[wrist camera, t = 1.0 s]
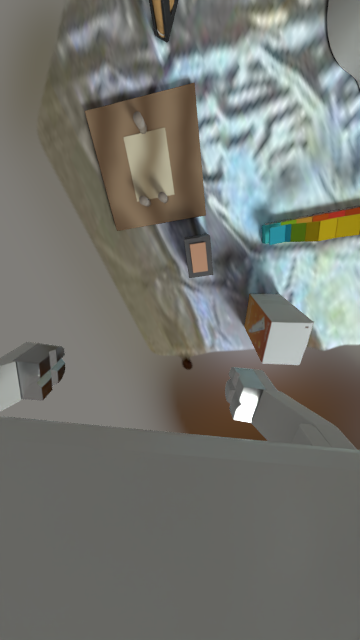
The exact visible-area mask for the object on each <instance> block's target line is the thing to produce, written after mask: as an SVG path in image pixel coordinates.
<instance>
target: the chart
mask: <svg viewBox="0 0 360 640" xmlns="http://www.w3.org/2000/svg"><path fill="white" fill-rule="evenodd" d="M359 234H360V207H357V206H354V207H349V208H344V209H342V210H340V209H338V210H333V211H328V213H324V212H323V213H318V214H313V215H312V216H309V217H308V215H307V216H302V217H297V218H296V219H293V220H291V219H287V220H282V221H281V222H278V223H277V222H271V223H266V224H265V225H262V243H265V244H266V243H269V245H272V244H277V243H282V242H301V241H322V240H327V239H331V238H337V237H345V236H352V235H359Z"/></svg>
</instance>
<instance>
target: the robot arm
mask: <svg viewBox="0 0 360 640" xmlns="http://www.w3.org/2000/svg"><path fill="white" fill-rule="evenodd" d="M327 29H328V38H329V43H330V47H331V50H332V53H333V55H334V57H335V59H336V61H337V62H338V64H339V65H340V66H341V67H342V68H343V69H344V70H345V71H346V72H348V73H349V74H350V75H352V76H353V77H354V78H355V79H356V80H357V82H358V85H359V88H360V0H329V3H328V12H327ZM64 355H65V353H64V348H63V347H62V346H54V345H48V344H40V343H32V342H26V343H24V344H22V345H21V346H19V347H18V348H16V349H14V350H13V351H11V352H9V353H8V354H6V355H4V356H3V357H1V358H0V411H2V410H4V409H5V408H8V407H9V406H11V405H13V404H15V403H17V402H18V401H20V400H21V399H31V400H44V399H45V398H46V396H47V395H48V394H49V393H50V392H51V391H52V386H53V385H55V384H57V383H59V382H60V380H61V379H62V377H63V375H64V373H65V362H64V361H63V360H62V358H63V356H64ZM229 376H230V378H231V379H230V380H228V381H227V383H226V388H225V395H226V400H227V401H228V402H229V403H230V404H231V405H230V412H231V414H232V417H233V420H239V421H246V422H252V424H253V425H254V426H255V427H256V429H258V431H259V432H260V433H261V434H262V435H263V436H264V437H265V438H266V439H267V440H268V441H258V440H248V439H237V438H226V437H215V436H205V435H194V434H183V433H174V432H163V431H152V430H142V429H131V428H121V427H110V426H99V425H89V424H78V423H68V422H57V421H47V420H36V419H26V418H15V417H5V416H0V640H360V450H357V449H356V448H355V447H354V446H353V445H352V443H351V442H350V441H349V440H348V439H347V438H346V437H345V436H344V435H343V433H342V432H341V431H340V430H339V429H338V428H337V427H336V426H335V425H333V424H331V423H330V422H328V421H327V420H325V419H323V418H322V417H320V416H319V415H317V414H316V413H314V412H312V411H311V410H309V409H308V408H306V407H305V406H303V405H301V404H300V403H298V402H296V401H295V400H293V399H292V398H290V397H289V396H287V395H286V394H284V393H282V392H280V391H277V390H276V388H275V387H274V385H273V384H272V382H271V381H270V380H269V378H268V377H267V376H266V374H265V373H264V371H262V370H256V369H244V368H234V367H232V368H231V370H230V372H229Z"/></svg>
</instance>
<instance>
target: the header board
mask: <svg viewBox="0 0 360 640" xmlns="http://www.w3.org/2000/svg"><path fill="white" fill-rule="evenodd" d="M85 114H86V117H87V121H88V125H89V129H90V132H91V136H92V140H93V143H94V147H95V151H96V155H97V158H98V162H99V166H100V169H101V173H102V177H103V181H104V184H105V188H106V192H107V195H108V199H109V203H110V207H111V210H112V214H113V218H114V221H115V225H116V229H117V231H120V230H126V229H131V228H137V227H143V226H148V225H154V224H160V223H165V222H171V221H177V220H182V219H188V218H194V217H199V216H205V215H206V211H205V200H204V188H203V176H202V165H201V153H200V142H199V130H198V118H197V107H196V95H195V83H191V84H187V85H184V86H180V87H176V88H172V89H168V90H164V91H160V92H157V93H153V94H149V95H145V96H141V97H137V98H133V99H130V100H126V101H122V102H118V103H114V104H110V105H106V106H102V107H99V108H95V109H91V110H87V111H85Z"/></svg>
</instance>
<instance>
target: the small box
mask: <svg viewBox="0 0 360 640" xmlns="http://www.w3.org/2000/svg"><path fill="white" fill-rule="evenodd" d="M313 324H314V322H313V321H312V320H310V319H309V318H308V317H307V316H305V315H304V314H303V313H302V312H301V311H299V310H298V309H297V308H296V307H295V306H293V305H292V304H291V303H290V302H289V301H287V300H286V299H285V298H284V297H282V296H281V295H280V294H249V301H248V308H247V314H246V320H245V325H244V327H245V329H246V331H247V333H248V335H249V337H250V339H251V342H252V344H253V346H254V348H255V350H256V352H257V354H258V356H259V358H260V360H261V362H262V363H266V364H291V365H299V364H300V362H301V359H302V357H303V354H304V351H305V349H306V346H307V344H308V340H309V336H310V333H311V330H312V327H313Z"/></svg>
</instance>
